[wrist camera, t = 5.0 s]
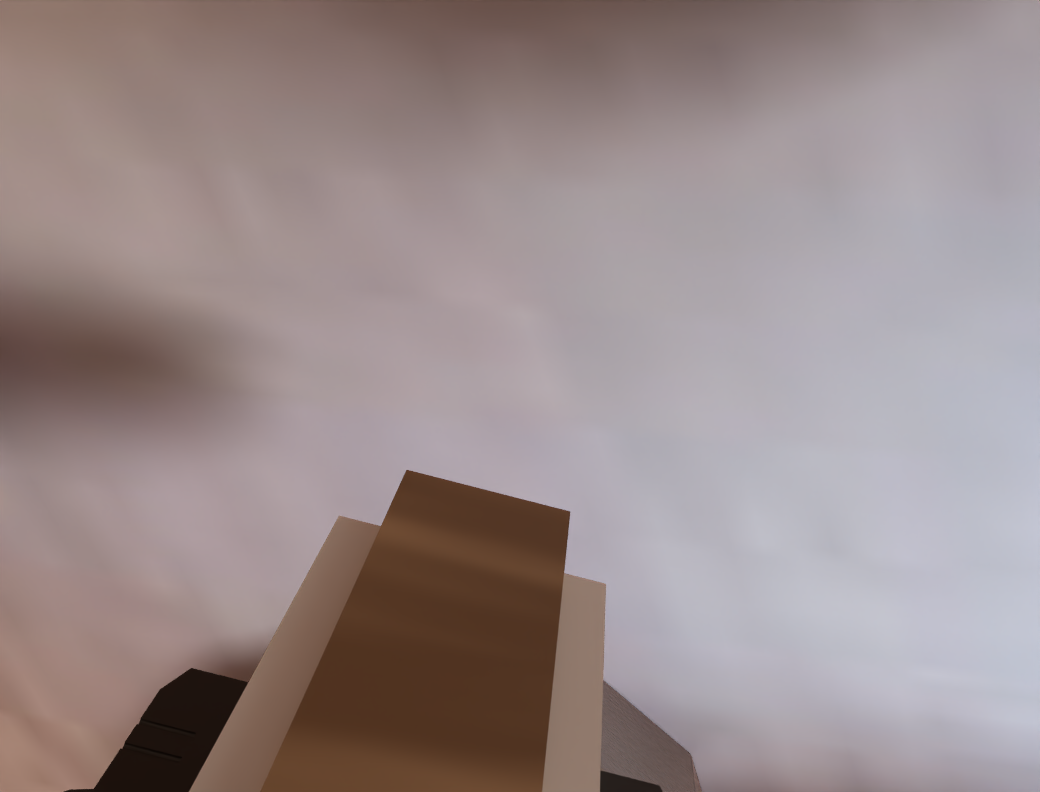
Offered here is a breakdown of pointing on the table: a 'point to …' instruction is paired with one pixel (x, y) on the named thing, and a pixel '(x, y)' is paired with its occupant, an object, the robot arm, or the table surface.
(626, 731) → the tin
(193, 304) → the table surface
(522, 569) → the square wooden stick
